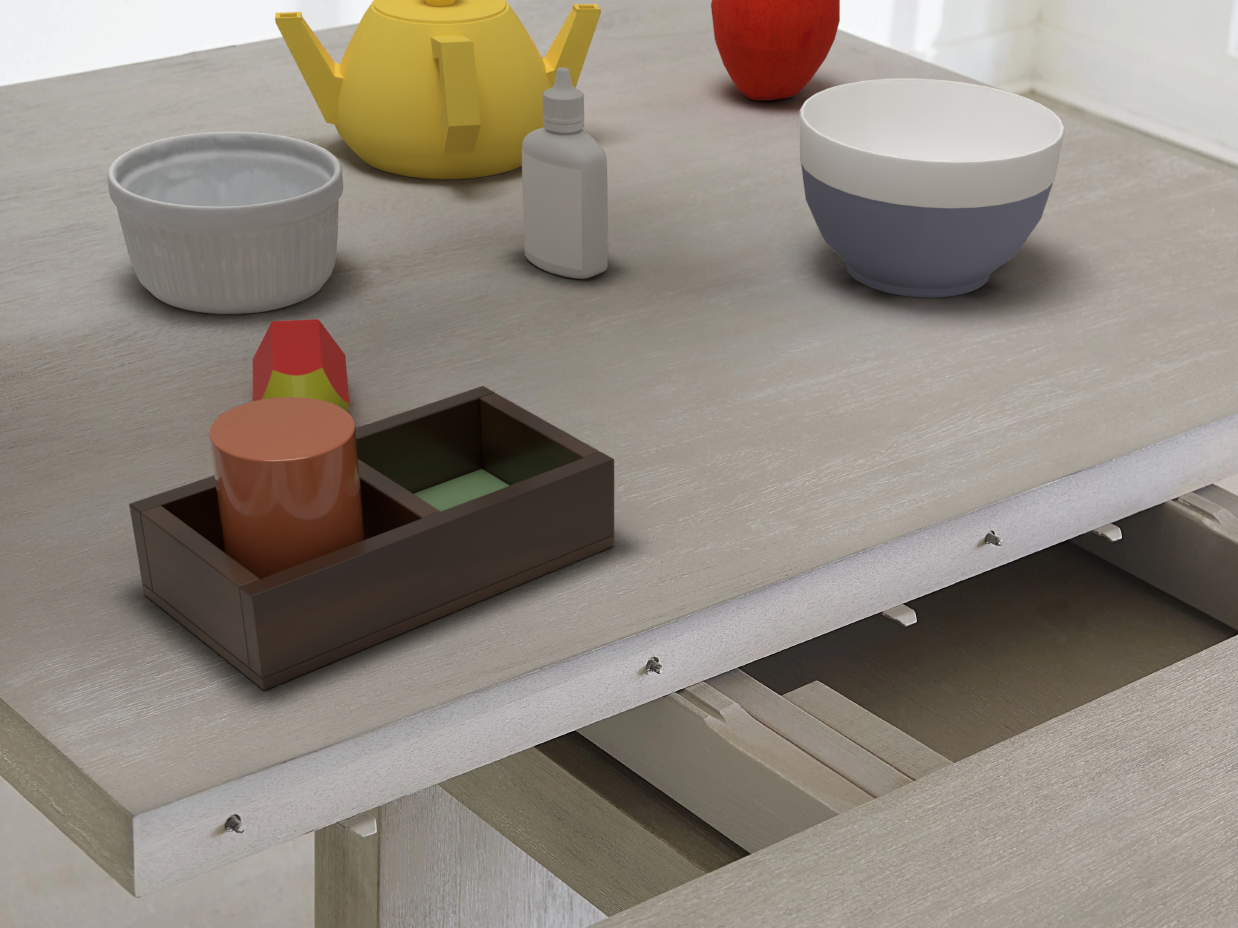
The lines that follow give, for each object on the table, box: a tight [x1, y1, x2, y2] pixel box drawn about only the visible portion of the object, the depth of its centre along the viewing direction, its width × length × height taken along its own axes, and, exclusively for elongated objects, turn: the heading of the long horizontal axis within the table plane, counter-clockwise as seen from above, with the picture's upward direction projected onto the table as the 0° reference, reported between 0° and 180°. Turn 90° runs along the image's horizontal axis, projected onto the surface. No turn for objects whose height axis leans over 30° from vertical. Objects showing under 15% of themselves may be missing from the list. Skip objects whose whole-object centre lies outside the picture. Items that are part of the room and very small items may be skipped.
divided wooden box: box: [128, 385, 615, 691], centre depth 86 cm, size 10×19×5 cm, turn 133°
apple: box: [710, 0, 841, 102], centre depth 144 cm, size 10×10×12 cm
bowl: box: [799, 77, 1065, 299], centre depth 117 cm, size 16×16×10 cm
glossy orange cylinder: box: [208, 397, 365, 579], centre depth 82 cm, size 6×6×8 cm
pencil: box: [252, 318, 351, 413], centre depth 96 cm, size 5×12×4 cm, turn 12°
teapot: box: [274, 0, 602, 180], centre depth 132 cm, size 17×17×12 cm
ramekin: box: [107, 130, 344, 315], centre depth 112 cm, size 13×13×7 cm
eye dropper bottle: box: [521, 68, 609, 280], centre depth 115 cm, size 4×6×12 cm
